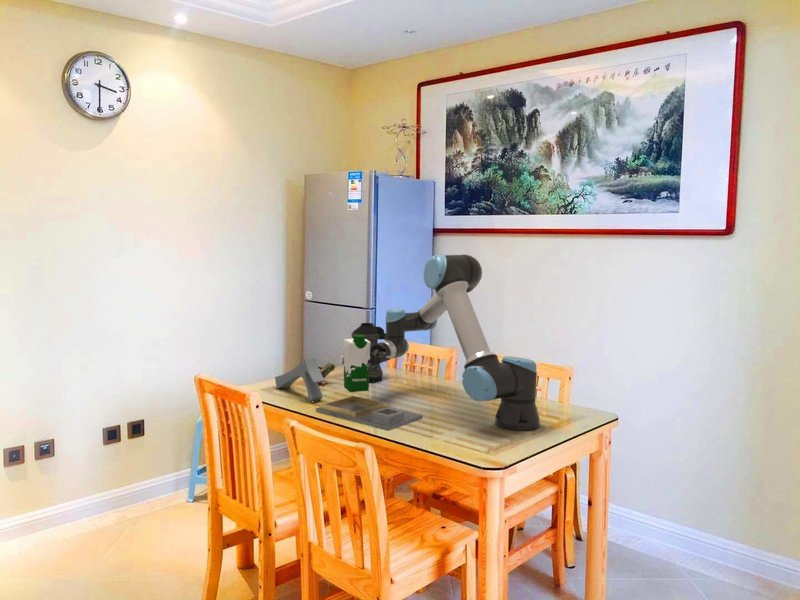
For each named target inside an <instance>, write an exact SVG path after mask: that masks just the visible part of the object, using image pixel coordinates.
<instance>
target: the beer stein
mask: <svg viewBox="0 0 800 600" xmlns="http://www.w3.org/2000/svg"><path fill="white" fill-rule="evenodd" d="M354 335H365V339H367V340H368V341H370V342H371V344H370V348H371V347H372V346H373V345H374V344H376V343H379V342H378V341H379V340H381V341H382V340H384V341H386V332H385V330H384V329H383V327H381V326H375V325H374V323H372V322H362V323H360V325H359V326H358V327H357V328H356V329H354V330H353V331H352V332H351V339H354ZM383 375H384V373H383V369H382V367H381V363H380V364H376V362H375V363H374V364H371V363H370V371H369V383H372V384H377V383H376V382H378V383H380V382H381V381H382V379H383ZM379 381H380V382H379Z"/></svg>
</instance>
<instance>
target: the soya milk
mask: <svg viewBox="0 0 800 600" xmlns="http://www.w3.org/2000/svg"><path fill="white" fill-rule="evenodd" d="M370 344H371V342H370V341H368V340H367V339H365V335H354V339H353V338H344V339H343V348H344V349H343V354H344V355H343V356H344V364H343V388H344V389H346V390H347V391H348V392H349V393H359V392H369V387H370V386H369V385H370V384H369V371H370V364H368V360H369V359H370ZM360 359H361V367H360Z"/></svg>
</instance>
